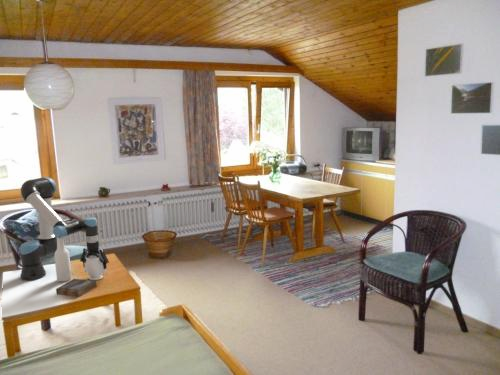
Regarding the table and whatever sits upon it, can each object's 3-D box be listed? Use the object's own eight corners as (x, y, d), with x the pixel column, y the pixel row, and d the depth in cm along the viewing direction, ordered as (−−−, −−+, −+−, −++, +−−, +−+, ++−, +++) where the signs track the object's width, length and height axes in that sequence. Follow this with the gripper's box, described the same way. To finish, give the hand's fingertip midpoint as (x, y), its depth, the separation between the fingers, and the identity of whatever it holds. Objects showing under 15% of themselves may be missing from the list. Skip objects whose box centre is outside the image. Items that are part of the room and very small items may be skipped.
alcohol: (54, 280, 279) (49, 236, 274) (65, 276, 287) (60, 232, 282) (63, 283, 275) (58, 237, 270) (74, 278, 283) (70, 234, 278)
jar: (107, 276, 285) (105, 254, 283) (97, 281, 276) (95, 259, 273) (94, 274, 289) (92, 253, 286) (83, 280, 279) (81, 258, 277)
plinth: (56, 294, 258) (56, 288, 257) (74, 284, 273) (74, 278, 272) (79, 297, 253) (78, 290, 253) (96, 286, 268) (95, 280, 268)
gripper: (72, 241, 278) (75, 273, 282) (105, 244, 271) (108, 276, 274) (80, 238, 285) (83, 269, 289) (112, 240, 278) (115, 272, 281)
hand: (95, 272), depth 282 cm, fingers open, 13 cm apart
